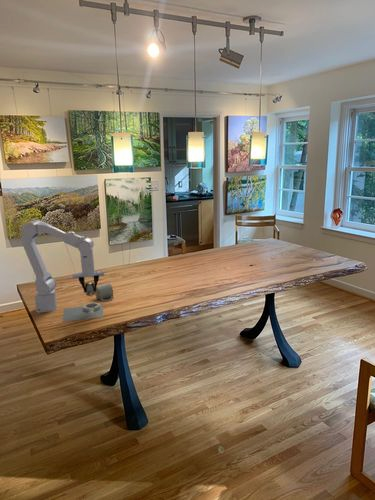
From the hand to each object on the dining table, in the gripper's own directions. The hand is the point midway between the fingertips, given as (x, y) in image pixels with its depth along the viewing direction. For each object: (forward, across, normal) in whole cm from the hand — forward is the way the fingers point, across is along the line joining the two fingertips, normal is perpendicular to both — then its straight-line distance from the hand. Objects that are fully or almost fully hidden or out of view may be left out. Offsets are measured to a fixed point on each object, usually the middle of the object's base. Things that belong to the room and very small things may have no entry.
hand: (90, 291), depth 181 cm
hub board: (+9, -4, -4) cm, 11 cm away
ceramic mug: (+10, +7, +13) cm, 18 cm away
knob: (+1, 0, 0) cm, 1 cm away
